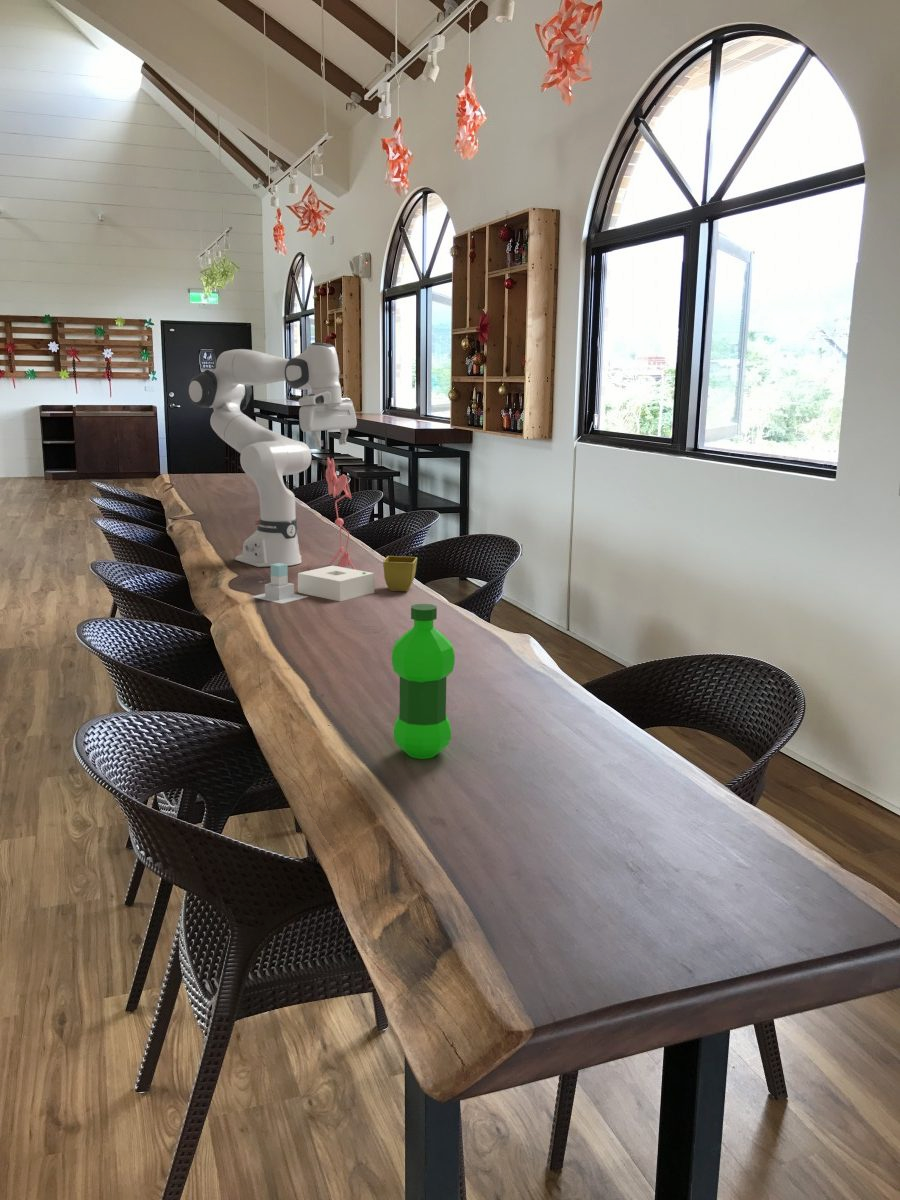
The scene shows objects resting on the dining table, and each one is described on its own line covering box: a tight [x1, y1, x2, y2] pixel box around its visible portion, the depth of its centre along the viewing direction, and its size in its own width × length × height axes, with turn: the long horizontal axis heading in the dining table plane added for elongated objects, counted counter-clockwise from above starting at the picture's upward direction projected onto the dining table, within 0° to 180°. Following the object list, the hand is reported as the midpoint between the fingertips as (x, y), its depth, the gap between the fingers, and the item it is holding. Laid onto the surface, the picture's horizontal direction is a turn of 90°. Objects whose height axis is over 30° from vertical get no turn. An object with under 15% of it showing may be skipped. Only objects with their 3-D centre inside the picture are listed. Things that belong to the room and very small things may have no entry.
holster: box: [250, 582, 308, 604], centre depth 261 cm, size 12×10×4 cm
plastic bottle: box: [391, 603, 456, 760], centre depth 156 cm, size 10×10×25 cm
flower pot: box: [382, 555, 418, 592], centre depth 274 cm, size 9×9×9 cm
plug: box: [269, 563, 289, 587], centre depth 260 cm, size 3×3×9 cm
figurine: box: [325, 457, 356, 570], centre depth 298 cm, size 15×26×35 cm, turn 16°
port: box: [297, 565, 375, 602], centre depth 267 cm, size 16×14×6 cm
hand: (331, 445), depth 285 cm, fingers open, 8 cm apart
